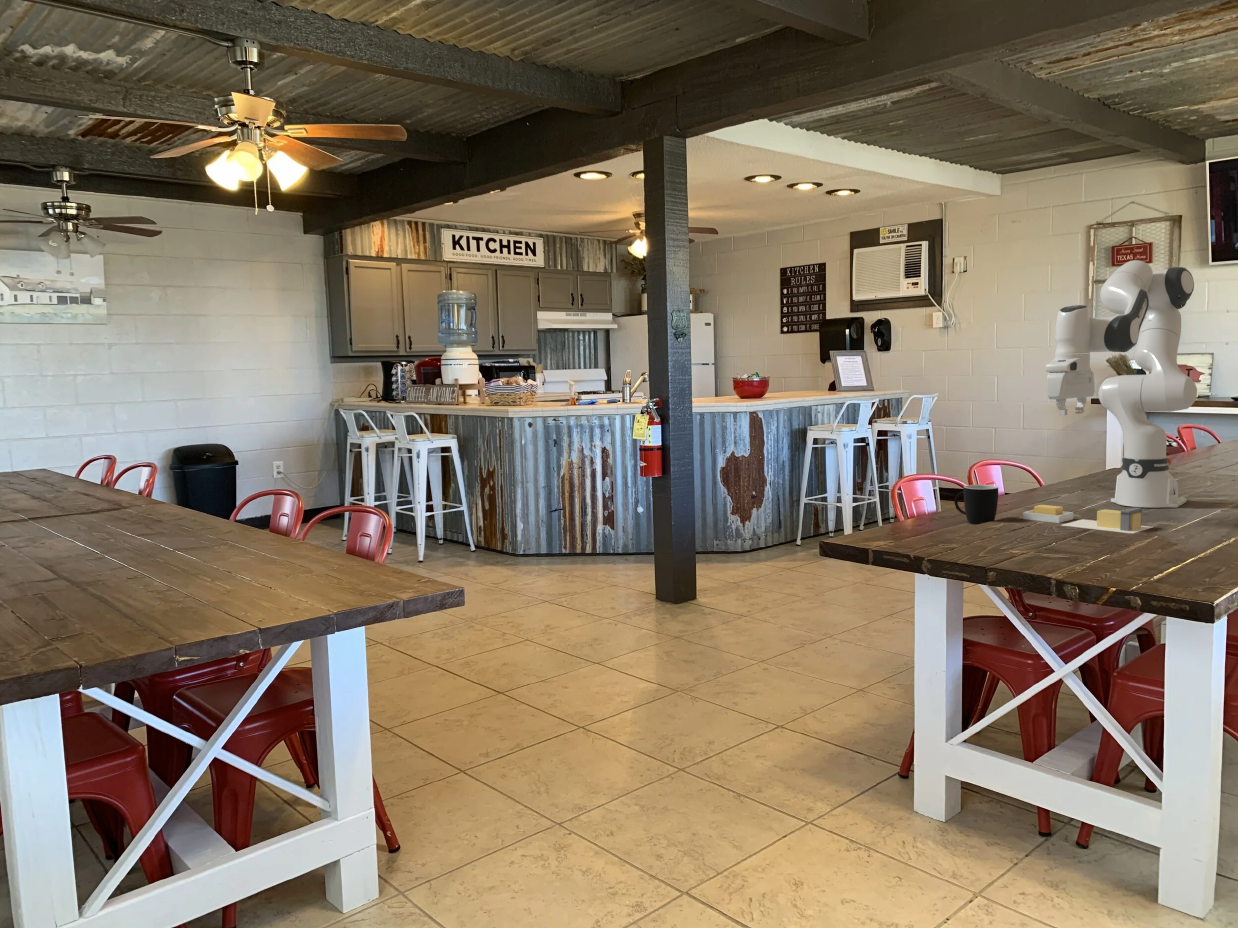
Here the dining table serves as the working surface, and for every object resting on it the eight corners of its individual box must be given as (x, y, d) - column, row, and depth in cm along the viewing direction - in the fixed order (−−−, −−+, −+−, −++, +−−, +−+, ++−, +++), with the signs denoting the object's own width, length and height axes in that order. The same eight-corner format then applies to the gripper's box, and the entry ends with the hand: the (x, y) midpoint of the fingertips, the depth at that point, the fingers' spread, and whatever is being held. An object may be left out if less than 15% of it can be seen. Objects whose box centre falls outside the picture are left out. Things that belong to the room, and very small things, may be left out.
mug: (1003, 522, 255) (1003, 486, 254) (989, 526, 249) (989, 489, 248) (962, 518, 264) (962, 483, 262) (947, 522, 257) (947, 486, 256)
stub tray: (1037, 519, 257) (1037, 508, 257) (1073, 523, 249) (1073, 512, 249) (1022, 522, 252) (1022, 512, 252) (1058, 527, 245) (1058, 516, 244)
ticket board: (1082, 523, 248) (1082, 501, 248) (1153, 531, 234) (1154, 507, 234) (1060, 529, 241) (1060, 506, 241) (1132, 538, 227) (1132, 513, 226)
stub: (1041, 518, 254) (1041, 504, 254) (1062, 521, 250) (1062, 506, 249) (1033, 520, 252) (1033, 506, 252) (1055, 523, 247) (1055, 508, 247)
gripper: (1078, 364, 262) (1078, 412, 264) (1042, 365, 250) (1041, 416, 252) (1101, 363, 257) (1100, 412, 259) (1065, 365, 245) (1064, 416, 247)
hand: (1071, 414), depth 255 cm, fingers open, 8 cm apart
